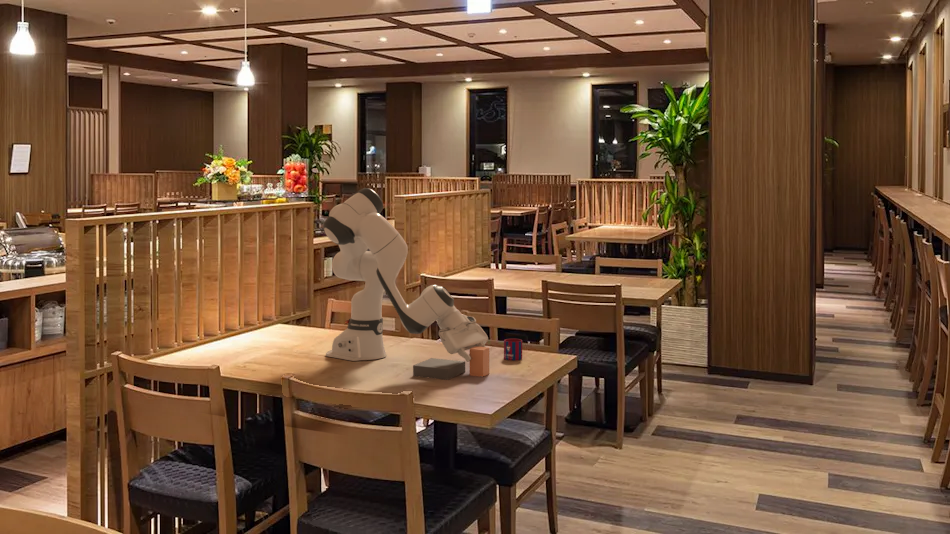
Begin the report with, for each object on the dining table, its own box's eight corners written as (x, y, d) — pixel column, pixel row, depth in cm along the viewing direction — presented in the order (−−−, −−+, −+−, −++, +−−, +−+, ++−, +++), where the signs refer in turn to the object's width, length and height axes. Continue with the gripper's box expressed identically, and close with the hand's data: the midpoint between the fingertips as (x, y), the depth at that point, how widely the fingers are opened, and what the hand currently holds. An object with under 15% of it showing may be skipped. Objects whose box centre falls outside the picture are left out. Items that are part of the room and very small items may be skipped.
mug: (500, 359, 316) (500, 340, 315) (514, 354, 324) (514, 336, 324) (516, 361, 312) (516, 342, 312) (530, 356, 321) (530, 338, 320)
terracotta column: (469, 375, 290) (469, 348, 289) (475, 372, 295) (475, 346, 294) (483, 376, 288) (483, 350, 287) (489, 373, 293) (489, 347, 292)
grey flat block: (413, 377, 289) (413, 365, 289) (431, 369, 301) (431, 358, 301) (447, 381, 284) (447, 369, 283) (465, 373, 296) (465, 361, 295)
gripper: (441, 324, 285) (465, 357, 281) (477, 316, 302) (500, 347, 297) (430, 336, 288) (454, 369, 284) (466, 327, 305) (489, 358, 300)
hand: (478, 358), depth 291 cm, fingers open, 8 cm apart
